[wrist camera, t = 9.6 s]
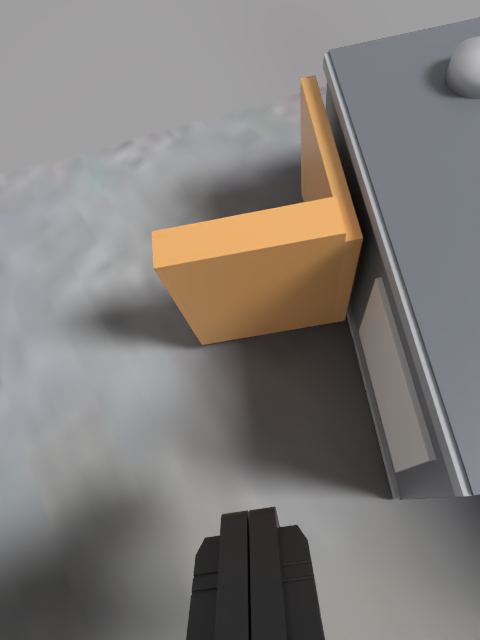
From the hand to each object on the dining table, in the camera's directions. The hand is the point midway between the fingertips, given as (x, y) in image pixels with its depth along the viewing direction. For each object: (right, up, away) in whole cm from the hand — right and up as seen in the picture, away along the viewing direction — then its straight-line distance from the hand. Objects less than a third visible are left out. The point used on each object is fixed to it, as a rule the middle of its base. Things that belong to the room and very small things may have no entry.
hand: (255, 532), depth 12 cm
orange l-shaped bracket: (+1, +9, +11) cm, 14 cm away
